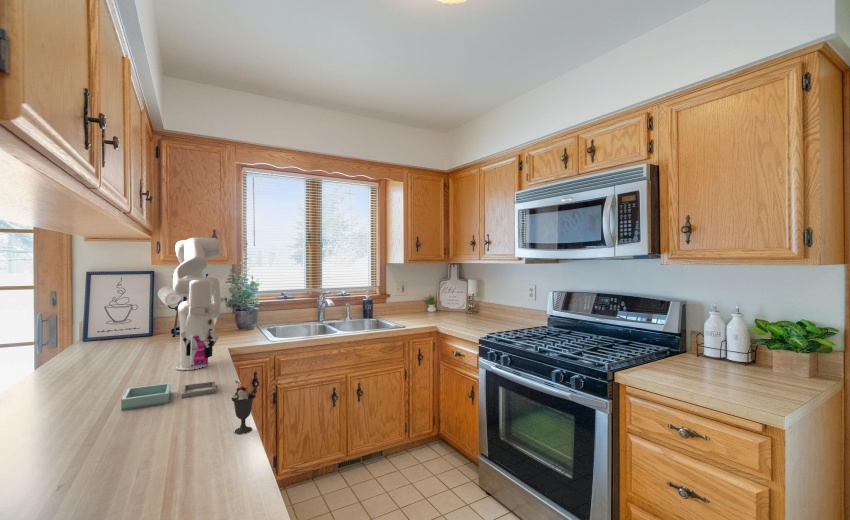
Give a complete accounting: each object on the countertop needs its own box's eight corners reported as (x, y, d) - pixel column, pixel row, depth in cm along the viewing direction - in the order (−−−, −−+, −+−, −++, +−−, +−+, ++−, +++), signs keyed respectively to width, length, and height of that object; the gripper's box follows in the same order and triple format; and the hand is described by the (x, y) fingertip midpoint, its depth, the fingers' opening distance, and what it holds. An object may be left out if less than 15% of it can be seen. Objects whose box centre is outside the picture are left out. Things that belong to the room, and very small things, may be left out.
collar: (182, 389, 152) (182, 385, 152) (214, 385, 157) (214, 381, 157) (181, 397, 142) (181, 393, 142) (215, 393, 148) (215, 389, 148)
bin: (127, 398, 142) (127, 388, 142) (170, 392, 148) (170, 382, 148) (121, 410, 130) (121, 399, 130) (168, 403, 137) (168, 393, 137)
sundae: (226, 430, 116) (227, 380, 116) (249, 424, 120) (250, 375, 121) (235, 437, 111) (236, 385, 111) (258, 430, 116) (259, 380, 116)
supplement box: (190, 366, 147) (191, 336, 146) (190, 362, 151) (190, 333, 151) (208, 364, 150) (208, 335, 150) (207, 360, 155) (207, 332, 154)
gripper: (225, 311, 152) (225, 355, 152) (189, 308, 156) (189, 351, 156) (210, 314, 144) (210, 360, 145) (173, 311, 149) (172, 356, 149)
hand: (199, 355), depth 151 cm, fingers closed on supplement box, 8 cm apart
